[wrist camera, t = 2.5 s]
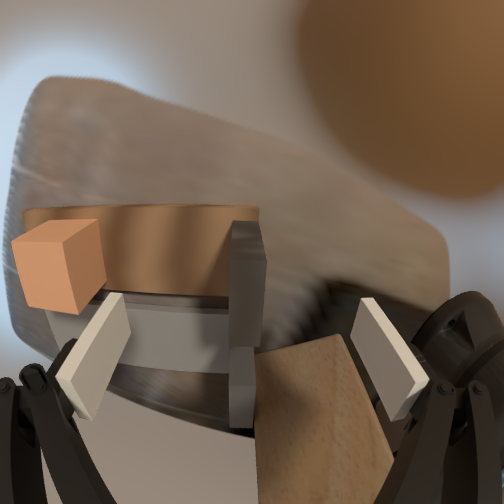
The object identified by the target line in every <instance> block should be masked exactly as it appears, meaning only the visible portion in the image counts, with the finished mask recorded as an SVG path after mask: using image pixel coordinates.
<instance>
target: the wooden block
mask: <svg viewBox="0 0 504 504" xmlns="http://www.w3.org/2000/svg"><path fill="white" fill-rule="evenodd" d="M254 360H255V375H256V395H255V405H254V430H255V447H256V466H257V483H258V501H259V504H373V503H374V501H375V499H376V497H377V495H378V493H379V492H380V490H381V488H382V486H383V484H384V482H385V480H386V477H387V475H388V473H389V471H390V469H391V467H392V464H393V462H394V457H393V455H392V452H391V450H390V447H389V445H388V442H387V440H386V437H385V435H384V432H383V430H382V427H381V425H380V422H379V420H378V418H377V415H376V413H375V410H374V408H373V406H372V403H371V401H370V399H369V396H368V394H367V392H366V389H365V387H364V385H363V383H362V380H361V378H360V376H359V374H358V371H357V369H356V367H355V365H354V362H353V360H352V358H351V356H350V354H349V351H348V349H347V347H346V345H345V343H344V341H343V338H342V337H341V335H340V334H334V335H331V336H327V337H323V338H320V339H316V340H312V341H308V342H304V343H301V344H297V345H292V346H288V347H284V348H280V349H275V350H271V351H266V352H262V353H257V354H254Z"/></svg>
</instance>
